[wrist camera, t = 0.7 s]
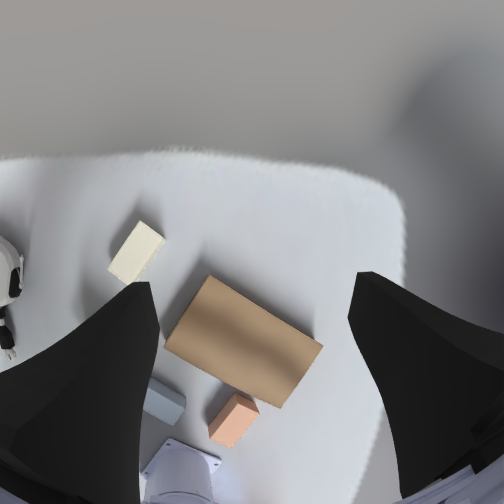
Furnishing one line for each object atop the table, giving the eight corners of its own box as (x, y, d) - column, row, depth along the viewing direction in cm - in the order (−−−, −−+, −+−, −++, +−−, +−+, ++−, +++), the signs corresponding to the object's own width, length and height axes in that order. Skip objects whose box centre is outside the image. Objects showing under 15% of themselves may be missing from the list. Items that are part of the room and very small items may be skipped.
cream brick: (135, 284, 29) (129, 287, 26) (115, 268, 29) (107, 269, 26) (166, 240, 30) (163, 237, 27) (145, 224, 30) (140, 220, 27)
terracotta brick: (228, 435, 30) (231, 448, 27) (207, 425, 30) (209, 438, 27) (254, 402, 31) (259, 413, 28) (234, 392, 31) (238, 403, 28)
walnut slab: (274, 399, 31) (280, 408, 29) (165, 340, 29) (163, 347, 27) (314, 340, 33) (323, 345, 30) (208, 273, 31) (209, 274, 28)
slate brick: (186, 397, 30) (185, 408, 27) (174, 413, 29) (172, 426, 26) (142, 370, 29) (137, 380, 26) (131, 388, 28) (125, 399, 25)
